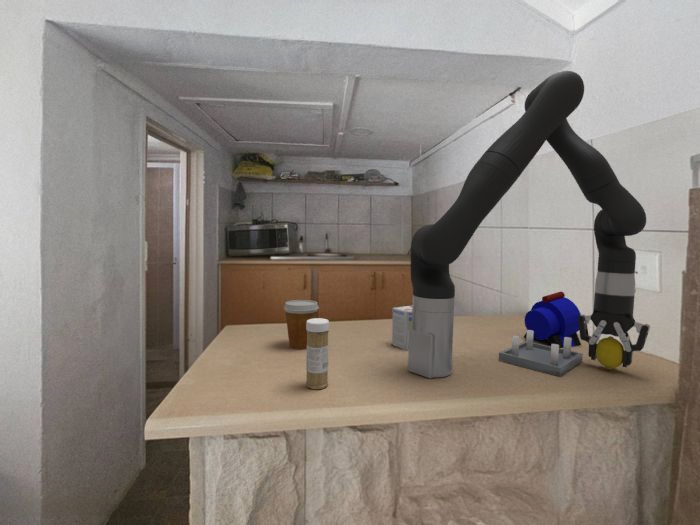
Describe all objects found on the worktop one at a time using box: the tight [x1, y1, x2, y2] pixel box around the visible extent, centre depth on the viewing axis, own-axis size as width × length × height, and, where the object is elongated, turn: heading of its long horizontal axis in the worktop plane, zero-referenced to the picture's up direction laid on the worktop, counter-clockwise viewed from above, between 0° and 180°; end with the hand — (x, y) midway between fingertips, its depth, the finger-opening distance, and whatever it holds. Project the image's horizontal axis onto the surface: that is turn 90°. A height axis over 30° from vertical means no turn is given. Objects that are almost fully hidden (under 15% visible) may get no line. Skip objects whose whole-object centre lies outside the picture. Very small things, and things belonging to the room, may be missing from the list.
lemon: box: [596, 335, 625, 371], centre depth 86 cm, size 6×6×8 cm
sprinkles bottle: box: [305, 317, 330, 390], centre depth 73 cm, size 5×5×13 cm
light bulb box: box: [391, 305, 412, 351], centre depth 103 cm, size 11×7×11 cm, turn 123°
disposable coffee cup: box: [283, 299, 320, 350], centre depth 100 cm, size 10×10×12 cm
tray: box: [498, 329, 583, 378], centre depth 91 cm, size 16×14×6 cm
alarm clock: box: [523, 291, 582, 349], centre depth 109 cm, size 12×12×15 cm
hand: (609, 362), depth 86 cm, fingers closed on lemon, 5 cm apart
